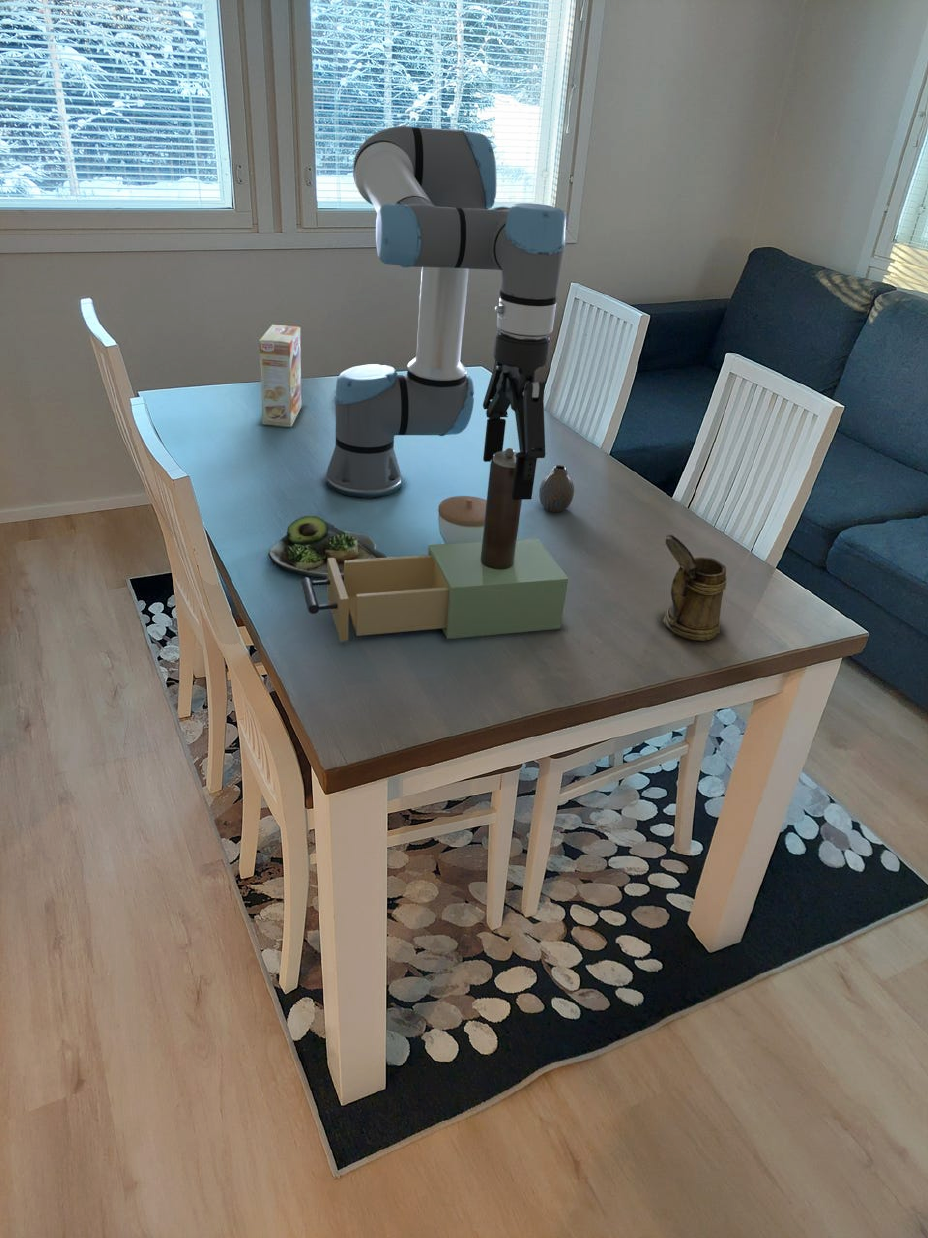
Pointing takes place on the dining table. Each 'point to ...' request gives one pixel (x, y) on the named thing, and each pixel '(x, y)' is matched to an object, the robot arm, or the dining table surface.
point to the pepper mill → (501, 513)
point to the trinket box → (462, 519)
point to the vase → (556, 490)
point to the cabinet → (500, 590)
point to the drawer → (383, 595)
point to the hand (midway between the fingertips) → (506, 478)
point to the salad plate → (319, 547)
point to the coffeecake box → (280, 375)
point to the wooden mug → (695, 594)
